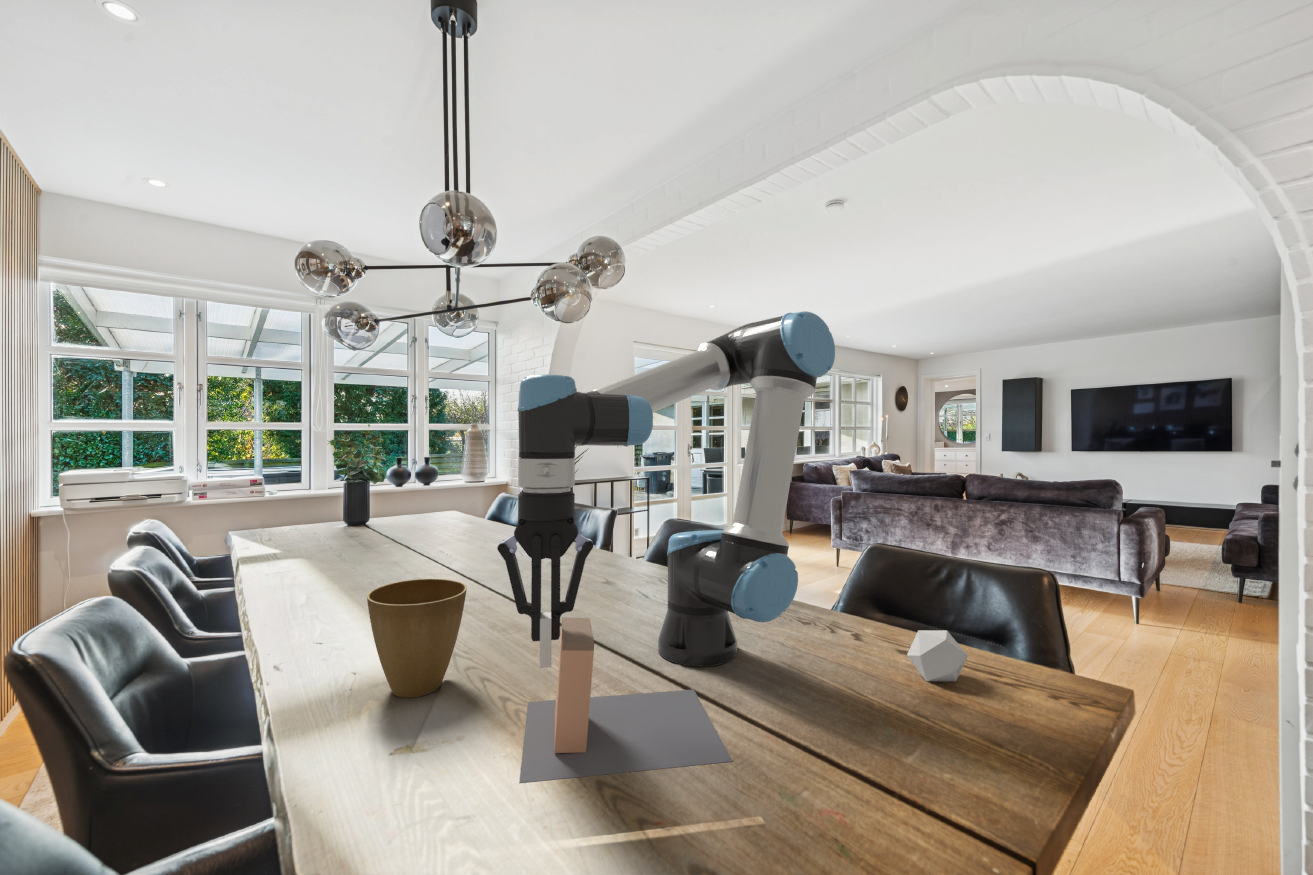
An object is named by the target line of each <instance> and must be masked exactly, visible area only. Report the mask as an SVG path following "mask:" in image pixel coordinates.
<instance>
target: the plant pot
mask: <svg viewBox="0 0 1313 875" xmlns="http://www.w3.org/2000/svg"><path fill="white" fill-rule="evenodd" d="M467 588H468V587H467V584H465V583H463V582H461V581H457V580H453V579H446V578H418V579H417V578H415V579H406V580H401V581H395V582H392V583H391V582H390V583H387V584H383V585H380V586H378V587H376V588H374V589H371V590H370V591H369V592H368V593H367V595H366V601H367V610H368V614H369V621H370V626H371V631H372V637H373V639H374V640H373V641H374V645H375V648H376V651H377V652H376V653H377V656H378V659H379V662H380V665H381V667H382V671H383V673H384V675H385V678H386V681H387V685H388V686H389V688H390V690H391V692H392V694H393V695H395V696H396V697H398V698H408V699H409V698H417V697H423V696H425V695H429V694H431V693H434V692H436V691H437V690H438V689H440V687H441V685H442V684H443V681H444V677H445V675H446V673H447V670H448V667H449V665H450V662H451V659H452V655H453V653H454V651H455V650H454V649H455V647H456V642H457V640H458V636H459V631H460V627H461V623H462V618H463V614H464V613H463V612H464V608H465V602H466V597H467V596H466V595H467Z"/></svg>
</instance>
